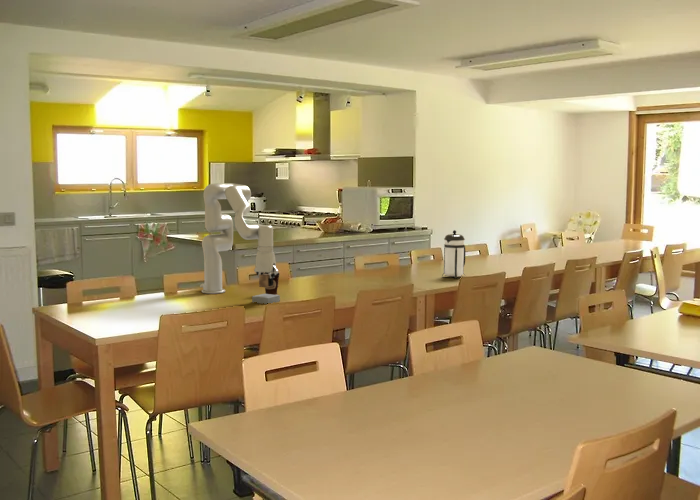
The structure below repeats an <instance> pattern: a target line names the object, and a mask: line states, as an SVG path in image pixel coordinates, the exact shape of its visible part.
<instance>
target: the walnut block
mask: <svg viewBox="0 0 700 500" xmlns="http://www.w3.org/2000/svg"><path fill="white" fill-rule="evenodd" d="M268 278H269V274H262V275H259V277H258V283H259V285H258V287H260V288H265V287H272V286H269V285H268Z"/></svg>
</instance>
